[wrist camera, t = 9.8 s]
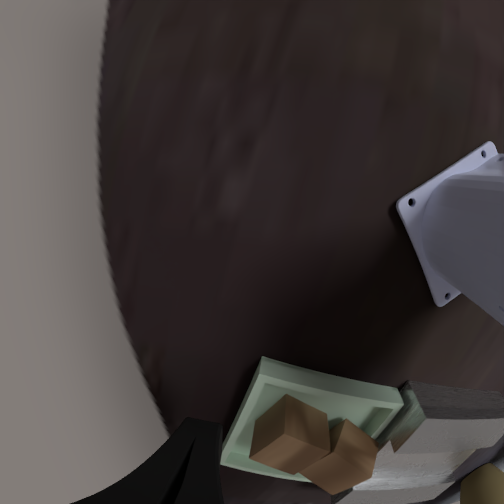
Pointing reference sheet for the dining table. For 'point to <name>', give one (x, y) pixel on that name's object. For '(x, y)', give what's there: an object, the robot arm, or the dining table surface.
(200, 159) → the dining table surface
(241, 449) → the tray
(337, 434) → the chip
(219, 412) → the dining table surface
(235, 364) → the dining table surface
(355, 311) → the dining table surface
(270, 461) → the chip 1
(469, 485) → the squeeze bottle
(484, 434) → the slot block
